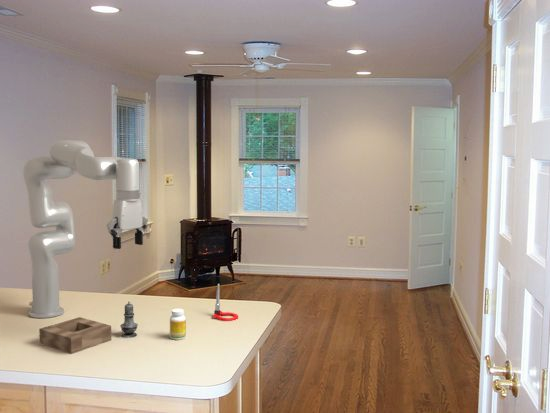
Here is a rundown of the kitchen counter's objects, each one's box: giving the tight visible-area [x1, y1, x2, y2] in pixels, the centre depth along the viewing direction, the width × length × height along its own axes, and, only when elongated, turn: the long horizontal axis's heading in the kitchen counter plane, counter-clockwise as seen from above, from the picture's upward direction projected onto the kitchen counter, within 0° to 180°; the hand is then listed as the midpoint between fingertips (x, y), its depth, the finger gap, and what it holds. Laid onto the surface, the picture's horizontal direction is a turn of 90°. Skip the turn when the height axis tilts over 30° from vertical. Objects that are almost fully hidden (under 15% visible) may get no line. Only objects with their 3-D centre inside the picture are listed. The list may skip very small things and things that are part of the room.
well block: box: [39, 316, 112, 355], centre depth 198 cm, size 16×16×5 cm
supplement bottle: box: [169, 308, 187, 341], centre depth 204 cm, size 5×5×10 cm
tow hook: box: [211, 283, 239, 322], centre depth 227 cm, size 8×13×9 cm
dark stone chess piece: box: [119, 301, 139, 339], centre depth 205 cm, size 6×6×12 cm
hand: (128, 246), depth 201 cm, fingers open, 9 cm apart
